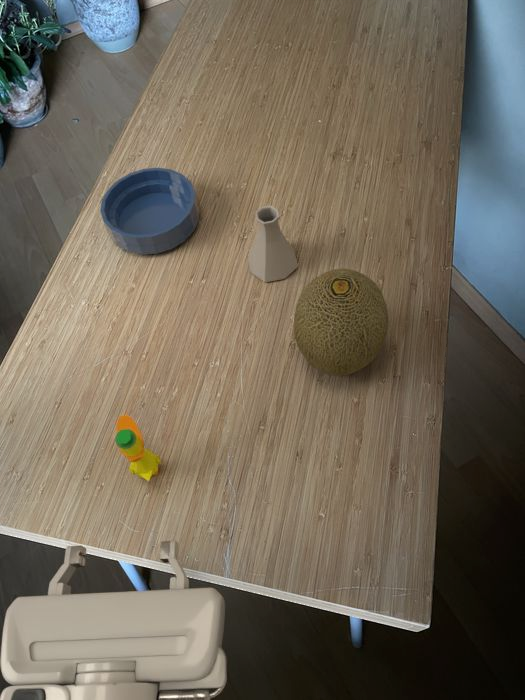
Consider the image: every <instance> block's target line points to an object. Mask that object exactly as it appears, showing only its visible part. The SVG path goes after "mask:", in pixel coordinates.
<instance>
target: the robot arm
mask: <svg viewBox="0 0 525 700" xmlns="http://www.w3.org/2000/svg"><path fill="white" fill-rule="evenodd" d="M159 547H160V552H159V560H160V561H162V563H164V564H170V566H171V569H172V571H173V572H174V575H175V576H171V577H170V579H169V589H151V590H150V589H149V590H130V591H112V592H109V591H108V592H91V593H73V594H72V593H71V592H72V587H71V585H69V584H68V583H69V581H70V580H71V578H73V577H72V576H73V575H74V573H75V572H76V570H77V568H84V567H86V558H85V557H86V556H87V548H86V547H85V546H83V545H68V546H67V545H66V548H65V553H64V561H63V564H61V566H60V567H59V568H58V570H57V572H56V573H55V575H53V577H52V579H51V580H50V581H49V584H48V591H47V595H30V596H27V595H26V596H18V597H16V598H15V599H14V600H13V601H12V603H10V605H9V606H8V608H7V609H6V612H5V617H4V621H3V628H2V636H1V646H0V671H1V675H2V677H3V679H4V681H6V682H7V683H8V684H10V686H7V687H5V688H4V689H3V690H2V692H1V693H0V700H211V699H212V698H215V697H217V696H218V695H220V694H221V693H222V692H223V690H224V688H225V687H226V684H227V680H228V658H227V654H226V652H225V651H224V649H223V647H222V645H223V639H224V630H225V622H226V621H225V620H226V601H225V598H224V597H223V596H222V593H220V592H219V591H218V590H217V589H216V588H214V587H194V588H192V587H191V588H190V579H189V577H188V576H187V573H186V572H185V570H184V568H183V566H182V564H181V562H180V561H179V557H180V544H179V542H178V541H177V540H162V541H160V546H159ZM210 689H215V690H214V691H211V690H210Z"/></svg>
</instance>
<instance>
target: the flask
mask: <svg viewBox="0 0 525 700" xmlns="http://www.w3.org/2000/svg"><path fill="white" fill-rule="evenodd" d="M254 214H255V219H256V222H257V223H258V226H257V233H256V235H255V238H254V241H253V243H252V245H251V248H250V250H249V253H248V255H247V260H248V266H249V271H250V273H251V274H252V275H254V276H255V277H257V278H258V279H259V280H261V281H262V282H263V283H268V282H269V283H270V282H276V281H279V280H285V279H286V278H287V277H289V276H290V275H291V274H292V273H293V272H295V271H296V269H298V268H299V264H298V260H297V255H296V251H295V250H294V248H293V247H292V245H291V244H290V242H289V241H288V240H287V238H286V236H285V235H284V233H283V231H282V229H281V228H280V225H279V221H280V219H281V215H280V211H279V208H277V207H275V206H274V205H272V204H268V205H264V206H261V207H259V208H258V209H257V210H256V211H255V212H254Z"/></svg>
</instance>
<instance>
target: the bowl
mask: <svg viewBox="0 0 525 700" xmlns="http://www.w3.org/2000/svg"><path fill="white" fill-rule="evenodd" d="M100 204H101V205H100V209H99V210H100V215H101V218H102V221H103V224H104V226H105V229H106V231H107V232H108V235H109V237H110V239H111V240H112V241H113V243H114V244H115V245H116V246H118V247H119V248H121V249H123V250H125V251H126V252H129V253H133V254H138V255H153V254H160V253H165V252H166V251H170V250H172V249H175V248H176V247H178V246H179V245H181V244H183V243H184V242H185V241H186V240H187V239H188V238H190V236H191V235H192V234H193V233H194V231H195V230H196V227H197V225H198V223H199V220H200V206H199V202H198V198H197V195H196V190H195V189H194V186H193V184H192V182H191V181H190V179H188V178H187V177H186V176H185V175H184V174H182V173H181V172H178V171H176V170H173V169H171V168H163V167H150V168H142V169H139V170H136V171H132V172H129V173H128V174H126V175H124V176H122V177H121V178H119V179H117V180H116V181H115V182H114V183H113V184H112V185H111V186H110V187H109V188H108V189H107V191H106V192H105V193H104V196H103V197H102V199H101V203H100Z"/></svg>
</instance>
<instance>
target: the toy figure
mask: <svg viewBox="0 0 525 700" xmlns="http://www.w3.org/2000/svg"><path fill="white" fill-rule="evenodd" d="M115 429H116V431H115V432H116V435H115V436H116V437H115V443H116V446H118V448H119V452H120V453H122V455H124V456H125V458H126V459H127V460H128V461H129V462H130V465H129V467H128V471H129V473H130V474H131V476H136V475H137V476H138V477H139V479H145V480H146V481H147V482H150V479H151V478H152V476H155V477H156V476H158V475H160V474H159V465H160V466H161V465H162V460H161V458H160V455H159V454H158V453H156V455H155V453H153V452H152V450H151V449H149V448H147V449H145V442H144V438H143V435H142V433H141V431H140V428H139V426H138V424H137V423H136V421H135V420H134V419H133V417H131V416H130V415H128V414H127V413H126V414H123V415H121V416H118V419H117V422H116V428H115Z"/></svg>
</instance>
